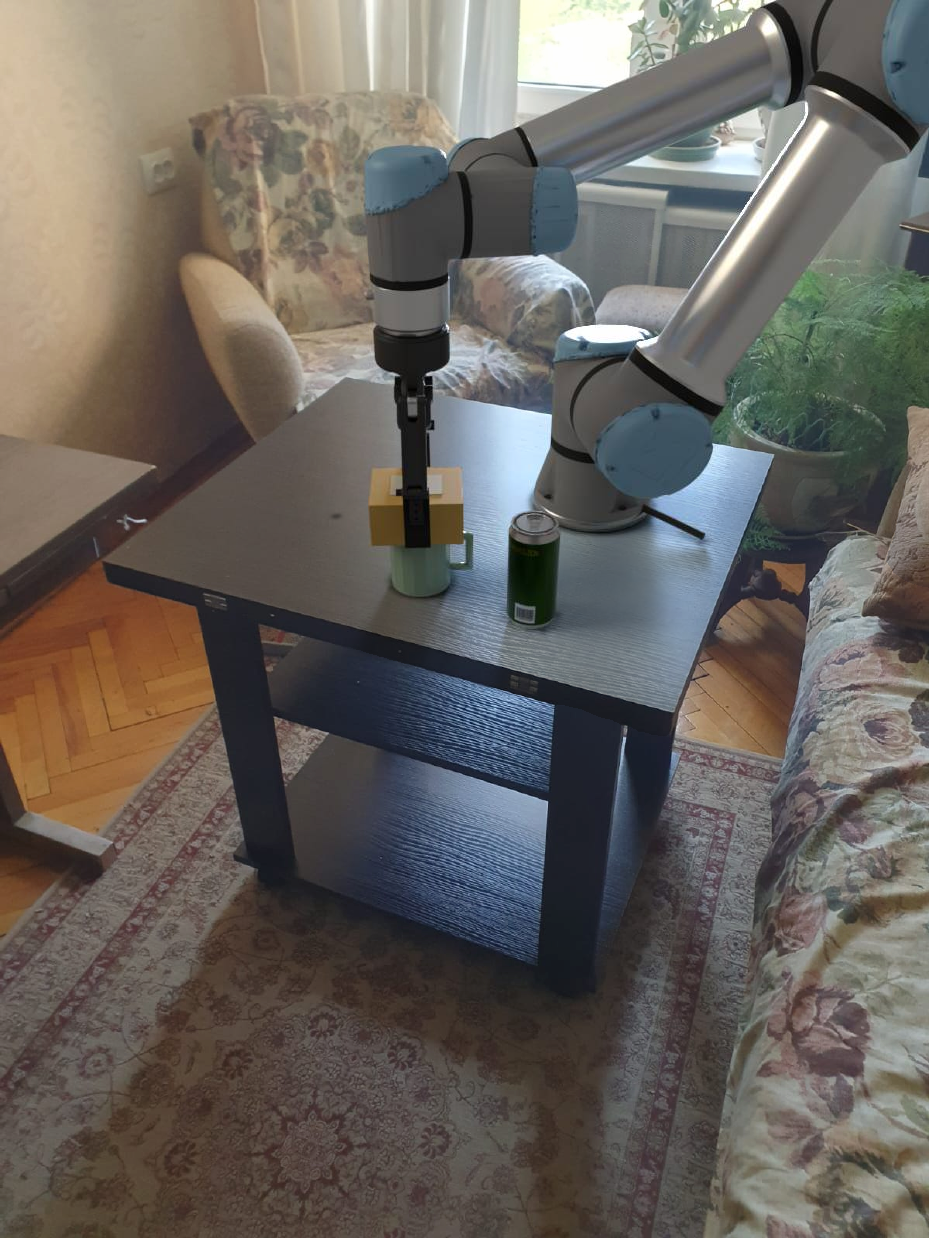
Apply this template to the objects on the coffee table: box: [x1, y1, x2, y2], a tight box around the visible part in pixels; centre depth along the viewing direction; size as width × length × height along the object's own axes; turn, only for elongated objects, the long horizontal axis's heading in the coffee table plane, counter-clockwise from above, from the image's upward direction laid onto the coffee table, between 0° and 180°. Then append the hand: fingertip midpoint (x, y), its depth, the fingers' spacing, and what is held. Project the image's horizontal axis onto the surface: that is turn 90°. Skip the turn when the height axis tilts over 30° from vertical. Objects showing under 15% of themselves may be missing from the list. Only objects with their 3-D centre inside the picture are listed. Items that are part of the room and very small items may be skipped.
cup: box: [389, 531, 474, 598], centre depth 107 cm, size 10×7×8 cm
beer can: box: [506, 510, 561, 630], centre depth 100 cm, size 5×5×12 cm
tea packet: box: [367, 466, 465, 547], centre depth 103 cm, size 10×8×5 cm
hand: (418, 514), depth 104 cm, fingers open, 13 cm apart
